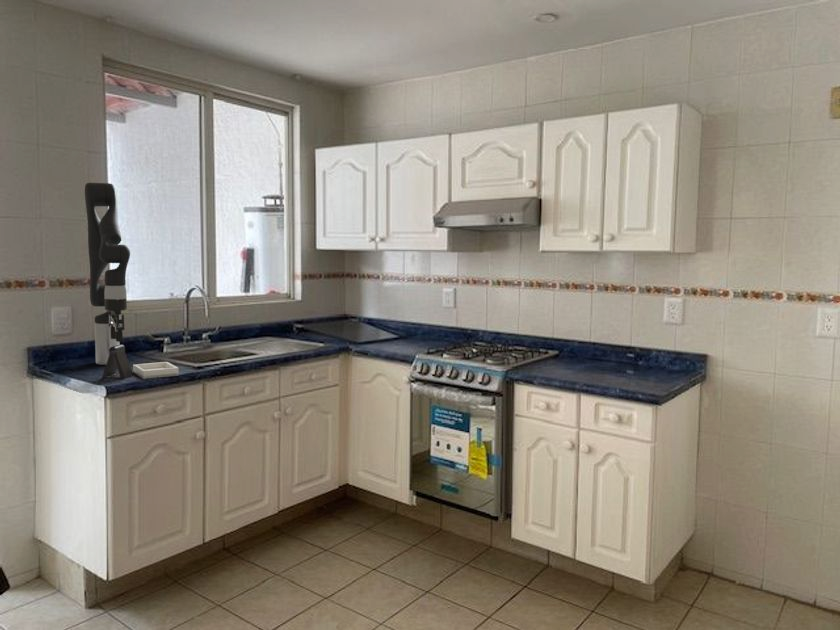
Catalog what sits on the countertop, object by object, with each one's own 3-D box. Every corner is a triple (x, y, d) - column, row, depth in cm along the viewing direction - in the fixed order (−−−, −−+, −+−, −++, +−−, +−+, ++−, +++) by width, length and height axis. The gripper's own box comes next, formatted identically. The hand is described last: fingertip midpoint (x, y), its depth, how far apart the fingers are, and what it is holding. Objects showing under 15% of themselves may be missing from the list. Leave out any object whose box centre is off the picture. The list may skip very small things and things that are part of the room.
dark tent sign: (133, 375, 247) (132, 345, 246) (124, 378, 241) (124, 347, 240) (110, 374, 248) (110, 344, 246) (102, 377, 242) (101, 346, 240)
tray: (133, 372, 253) (133, 364, 253) (167, 369, 261) (167, 361, 261) (143, 378, 242) (143, 371, 241) (178, 375, 250) (178, 367, 249)
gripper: (100, 296, 244) (101, 338, 246) (109, 299, 233) (110, 343, 235) (121, 296, 249) (122, 337, 251) (131, 298, 238) (131, 341, 239)
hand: (116, 340), depth 243 cm, fingers open, 8 cm apart
